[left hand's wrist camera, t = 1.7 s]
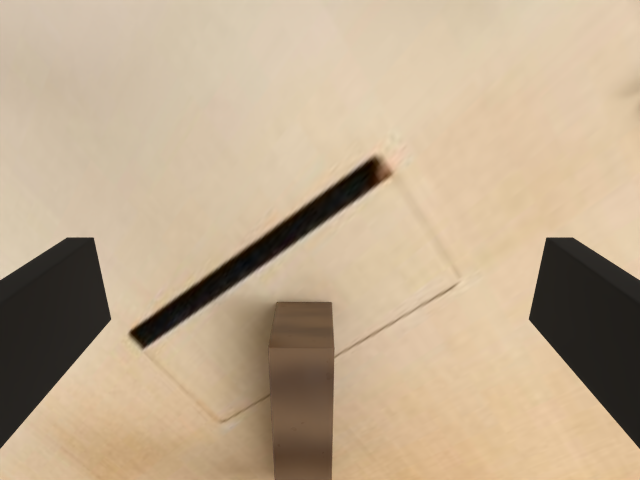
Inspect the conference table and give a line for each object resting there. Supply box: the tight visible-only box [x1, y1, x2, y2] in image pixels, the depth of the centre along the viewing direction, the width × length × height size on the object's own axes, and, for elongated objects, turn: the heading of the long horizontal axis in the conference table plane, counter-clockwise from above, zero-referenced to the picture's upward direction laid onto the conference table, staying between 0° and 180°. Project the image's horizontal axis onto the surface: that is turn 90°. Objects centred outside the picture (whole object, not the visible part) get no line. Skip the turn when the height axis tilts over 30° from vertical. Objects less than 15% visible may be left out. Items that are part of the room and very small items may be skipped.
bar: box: [268, 302, 334, 480], centre depth 44 cm, size 24×6×8 cm, turn 0°
